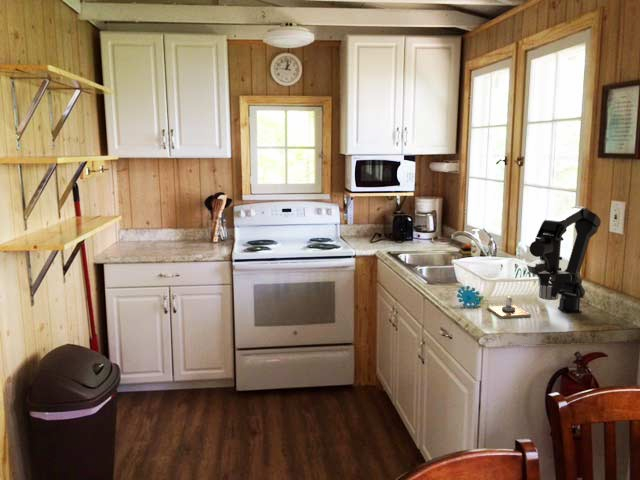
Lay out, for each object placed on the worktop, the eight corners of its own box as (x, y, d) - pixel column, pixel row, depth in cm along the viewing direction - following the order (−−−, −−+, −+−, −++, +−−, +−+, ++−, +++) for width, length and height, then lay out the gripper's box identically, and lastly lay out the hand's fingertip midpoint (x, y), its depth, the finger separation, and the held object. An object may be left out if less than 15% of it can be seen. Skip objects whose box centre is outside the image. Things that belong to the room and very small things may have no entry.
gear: (458, 305, 220) (456, 283, 225) (454, 311, 224) (452, 290, 230) (485, 308, 220) (483, 286, 226) (480, 315, 225) (478, 293, 231)
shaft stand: (515, 307, 221) (516, 292, 220) (530, 316, 210) (531, 300, 208) (487, 308, 220) (487, 293, 219) (500, 318, 208) (501, 301, 207)
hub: (551, 294, 209) (552, 282, 209) (561, 299, 203) (562, 286, 202) (535, 295, 209) (536, 282, 208) (544, 300, 202) (545, 287, 201)
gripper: (518, 249, 211) (516, 288, 214) (544, 259, 193) (541, 302, 195) (545, 248, 212) (543, 287, 215) (574, 258, 194) (570, 301, 197)
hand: (548, 294), depth 206 cm, fingers closed on hub, 7 cm apart
